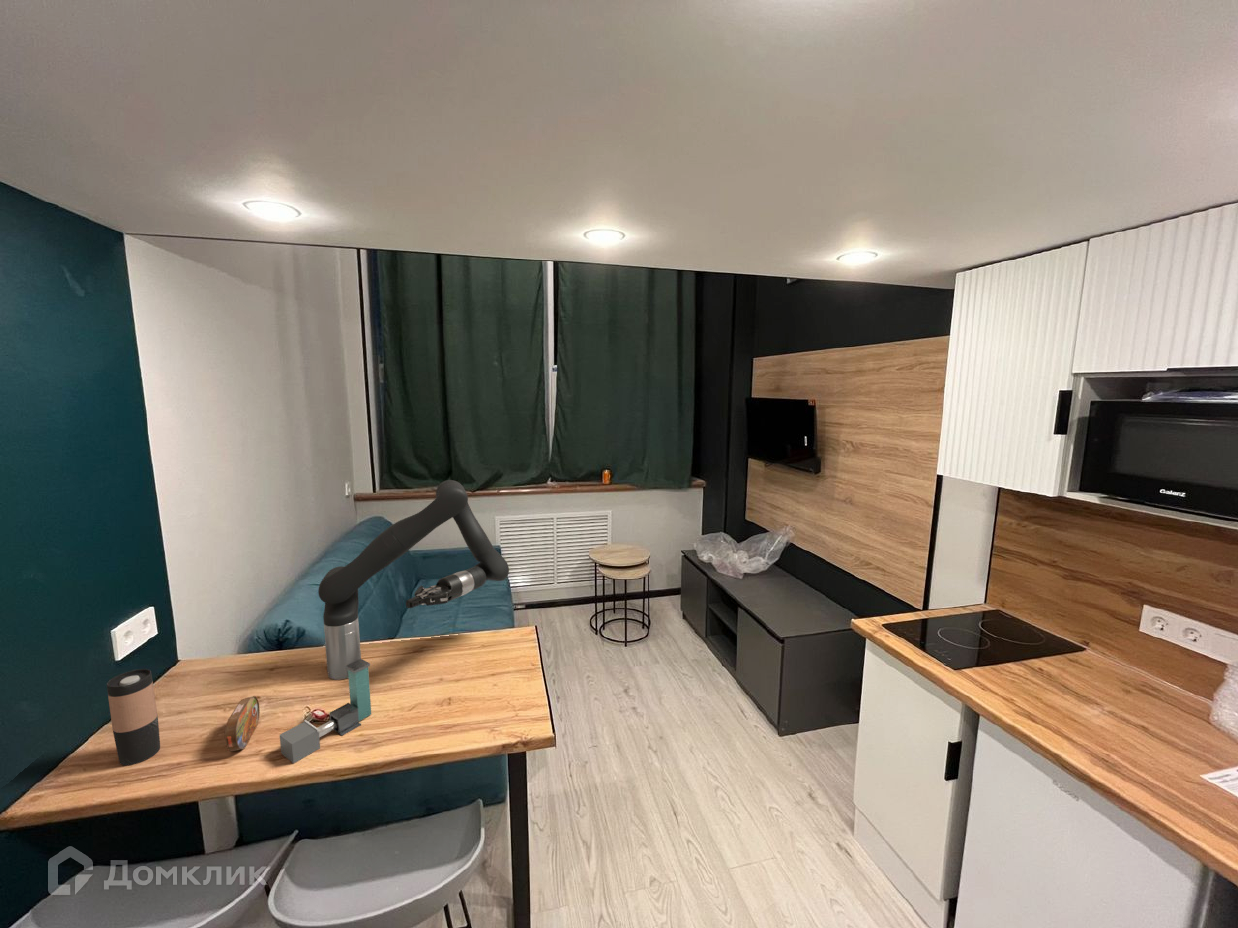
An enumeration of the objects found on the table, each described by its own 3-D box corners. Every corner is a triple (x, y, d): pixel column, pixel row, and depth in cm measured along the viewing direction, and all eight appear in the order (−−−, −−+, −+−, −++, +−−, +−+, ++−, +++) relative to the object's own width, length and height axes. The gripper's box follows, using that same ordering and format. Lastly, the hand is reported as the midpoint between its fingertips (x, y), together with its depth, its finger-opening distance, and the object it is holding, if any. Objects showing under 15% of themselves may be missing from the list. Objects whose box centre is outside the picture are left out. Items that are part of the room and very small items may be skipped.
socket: (280, 753, 119) (278, 733, 118) (307, 738, 124) (305, 719, 123) (294, 763, 115) (292, 743, 114) (320, 748, 120) (319, 729, 119)
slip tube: (294, 747, 120) (289, 691, 118) (364, 708, 135) (360, 658, 133) (302, 754, 118) (297, 697, 116) (373, 713, 133) (369, 663, 131)
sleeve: (328, 726, 128) (327, 711, 127) (347, 716, 132) (346, 701, 132) (342, 735, 125) (340, 720, 124) (361, 724, 129) (360, 709, 128)
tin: (240, 756, 117) (236, 724, 116) (224, 759, 116) (220, 727, 115) (262, 717, 131) (259, 688, 130) (248, 720, 130) (244, 691, 129)
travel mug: (137, 744, 121) (126, 669, 118) (170, 742, 122) (160, 667, 119) (108, 767, 114) (95, 687, 111) (143, 765, 114) (132, 686, 111)
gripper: (441, 570, 159) (392, 587, 144) (469, 578, 152) (421, 597, 138) (442, 592, 160) (394, 611, 146) (470, 601, 153) (422, 622, 139)
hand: (407, 604), depth 142 cm, fingers closed
